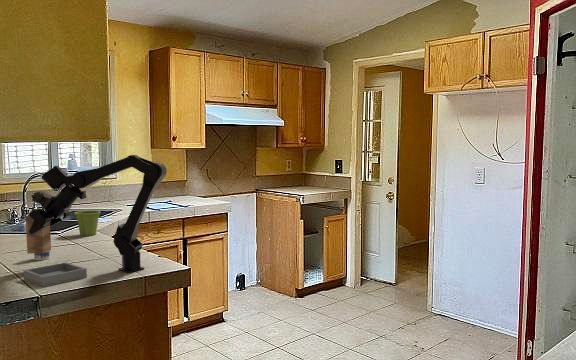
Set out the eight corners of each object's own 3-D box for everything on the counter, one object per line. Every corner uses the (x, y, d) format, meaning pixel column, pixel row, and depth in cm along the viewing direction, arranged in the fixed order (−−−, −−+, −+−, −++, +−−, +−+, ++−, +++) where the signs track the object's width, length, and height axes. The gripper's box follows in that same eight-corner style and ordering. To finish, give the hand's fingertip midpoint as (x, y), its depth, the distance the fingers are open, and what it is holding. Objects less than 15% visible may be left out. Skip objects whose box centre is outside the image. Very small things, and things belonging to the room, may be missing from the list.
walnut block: (51, 250, 174) (49, 213, 173) (43, 253, 169) (41, 215, 168) (35, 250, 174) (33, 213, 173) (27, 253, 169) (25, 215, 168)
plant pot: (86, 238, 232) (85, 214, 231) (69, 235, 238) (69, 212, 237) (106, 234, 242) (106, 211, 242) (90, 232, 248) (89, 209, 248)
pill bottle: (43, 260, 186) (42, 237, 186) (31, 260, 187) (30, 237, 187) (52, 257, 191) (51, 234, 191) (40, 257, 192) (39, 234, 192)
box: (86, 277, 162) (86, 268, 161) (43, 286, 151) (42, 277, 151) (66, 270, 171) (66, 262, 170) (23, 279, 160) (23, 270, 160)
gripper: (60, 181, 179) (31, 211, 180) (33, 185, 160) (1, 219, 161) (82, 202, 179) (54, 233, 180) (58, 209, 161) (26, 243, 162)
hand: (34, 231), depth 171 cm, fingers closed on walnut block, 5 cm apart
